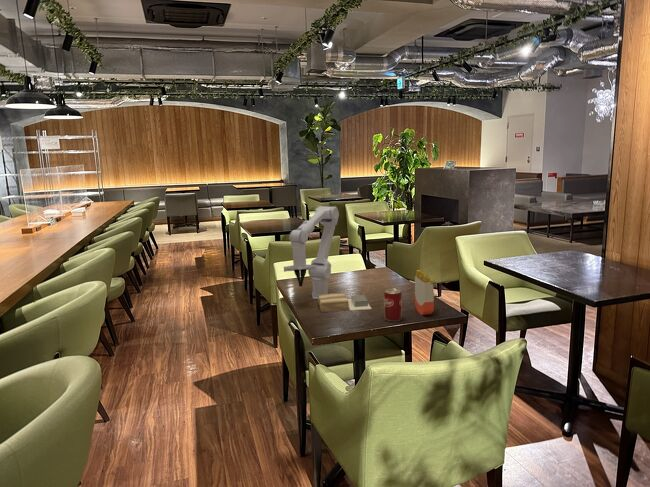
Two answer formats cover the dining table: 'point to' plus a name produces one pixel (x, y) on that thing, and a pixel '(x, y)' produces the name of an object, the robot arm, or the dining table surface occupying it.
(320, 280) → the robot arm
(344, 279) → the dining table surface
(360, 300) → the slate tile
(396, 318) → the soda can
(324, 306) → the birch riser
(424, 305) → the french fries container
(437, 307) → the dining table surface
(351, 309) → the placemat
